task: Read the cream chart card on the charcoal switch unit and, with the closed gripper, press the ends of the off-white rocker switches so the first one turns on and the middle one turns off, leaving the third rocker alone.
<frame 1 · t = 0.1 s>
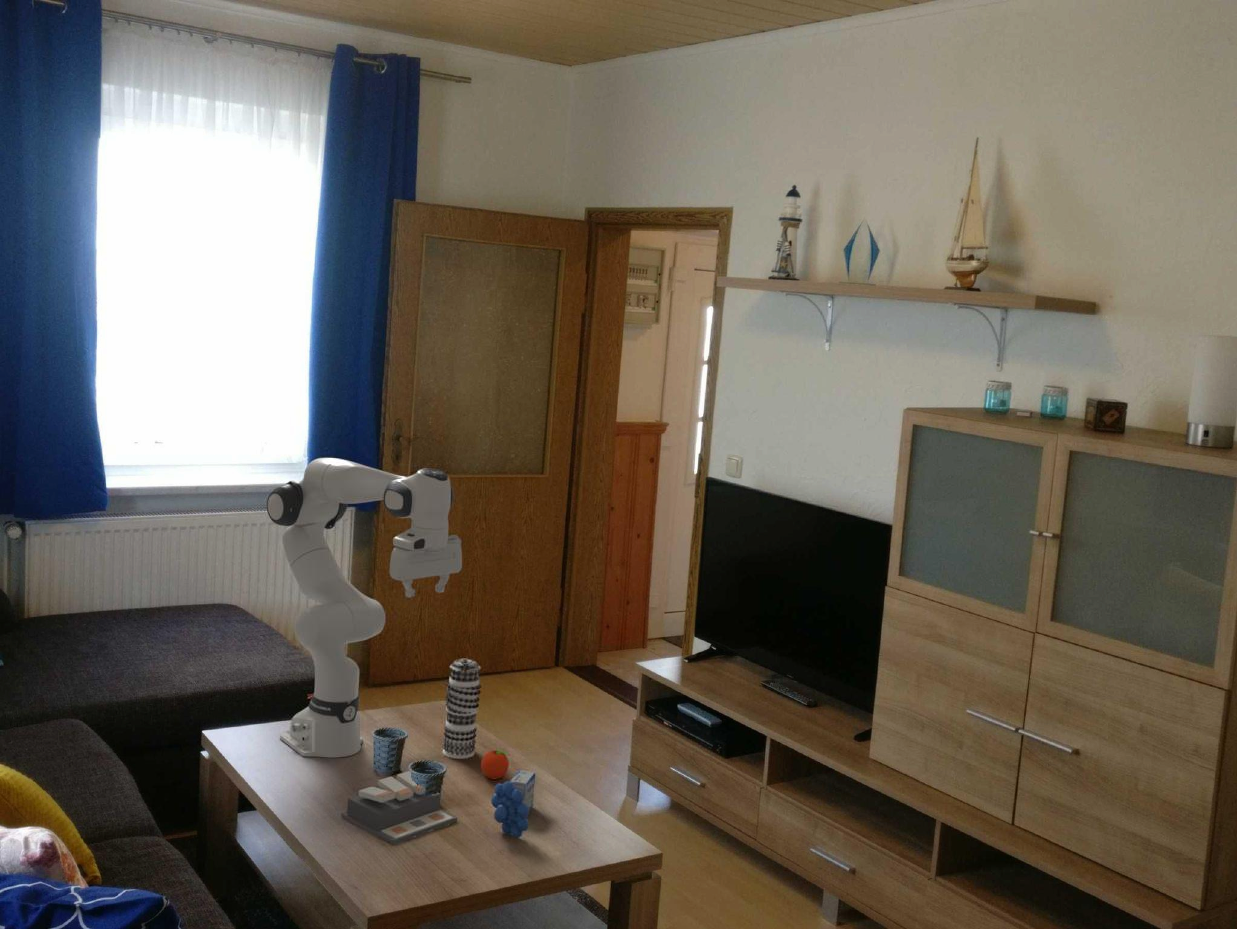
hand: (424, 594, 291), 48 cm above the table, tool pointing down, fingers open, 8 cm apart
rocker c: (414, 782, 282), point 7 cm above the table, hinge at 8.0°
rocker b: (395, 788, 277), point 7 cm above the table, hinge at 8.0°
rocker a: (376, 794, 273), point 7 cm above the table, hinge at -8.0°
tomato: (495, 778, 307), on the table
grapes: (504, 836, 274), on the table
medicine box: (519, 812, 288), on the table
switch unit: (399, 819, 277), on the table
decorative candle: (458, 753, 321), on the table
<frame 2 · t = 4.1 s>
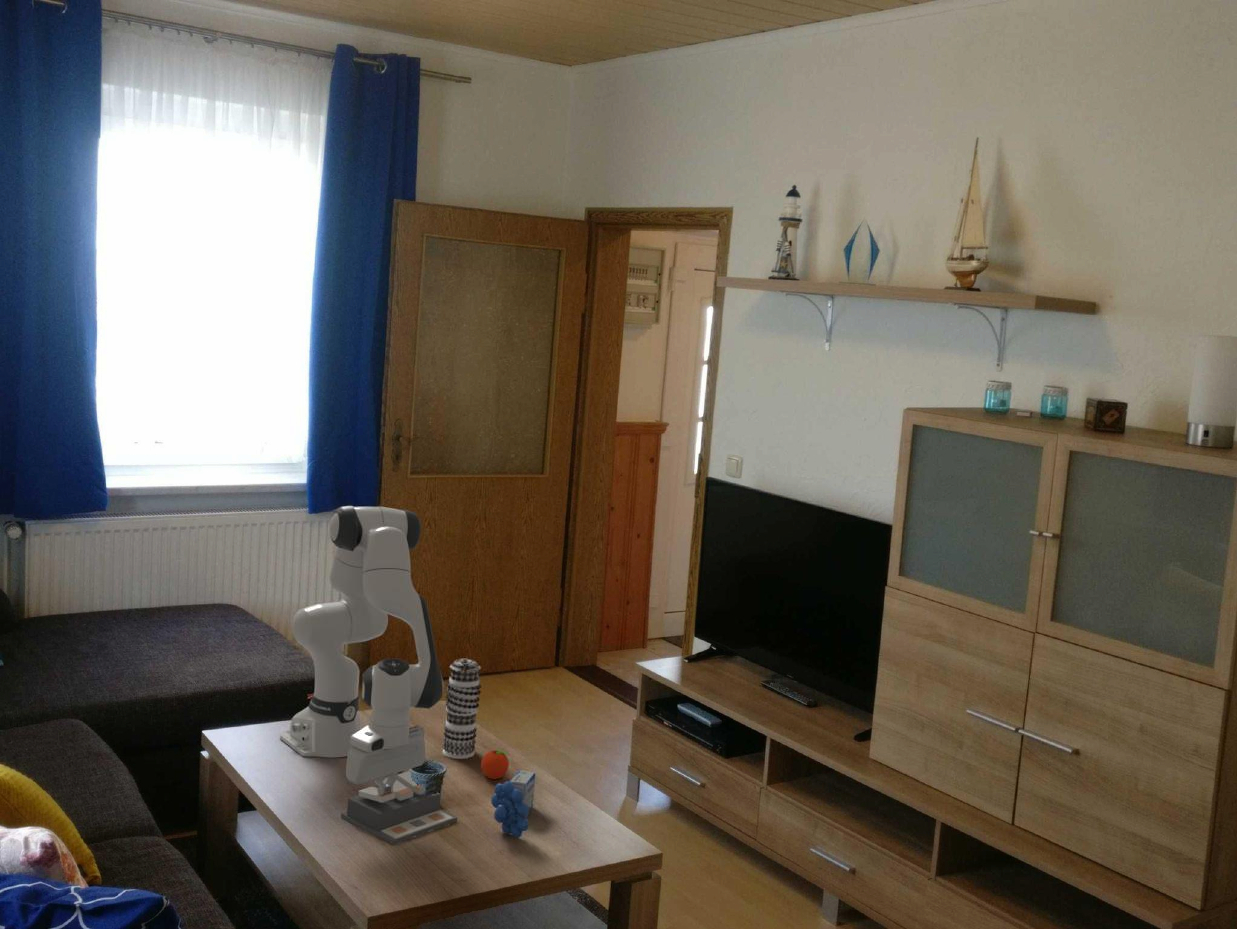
hand: (385, 792, 271), 8 cm above the table, tool pointing down, fingers closed, pressing on rocker a
rocker a: (376, 794, 273), point 7 cm above the table, hinge at -8.0°, touching gripper
everything else where it was.
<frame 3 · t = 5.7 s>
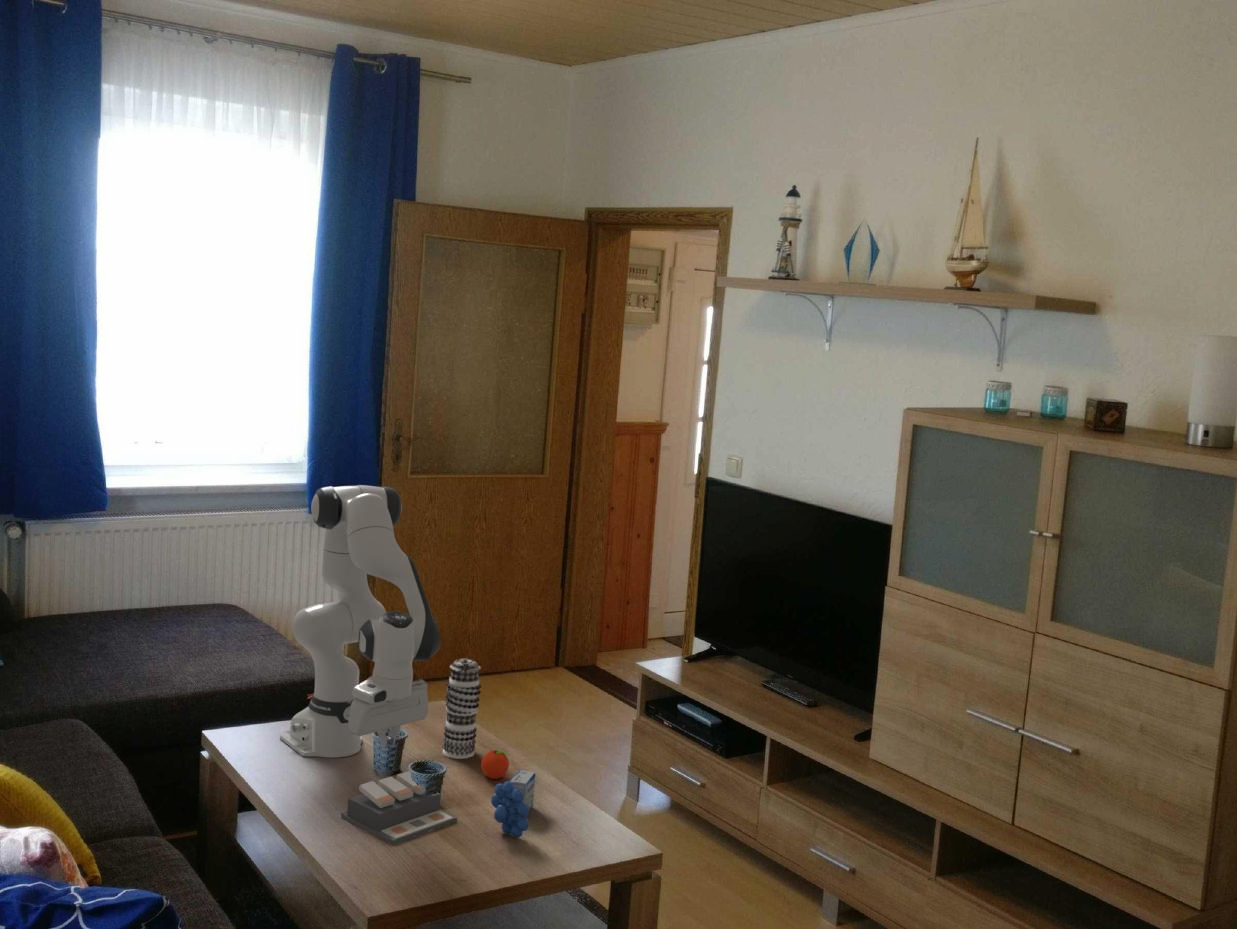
hand: (387, 745, 272), 18 cm above the table, tool pointing down, fingers closed
rocker a: (376, 794, 273), point 7 cm above the table, hinge at 12.4°
everything else where it was.
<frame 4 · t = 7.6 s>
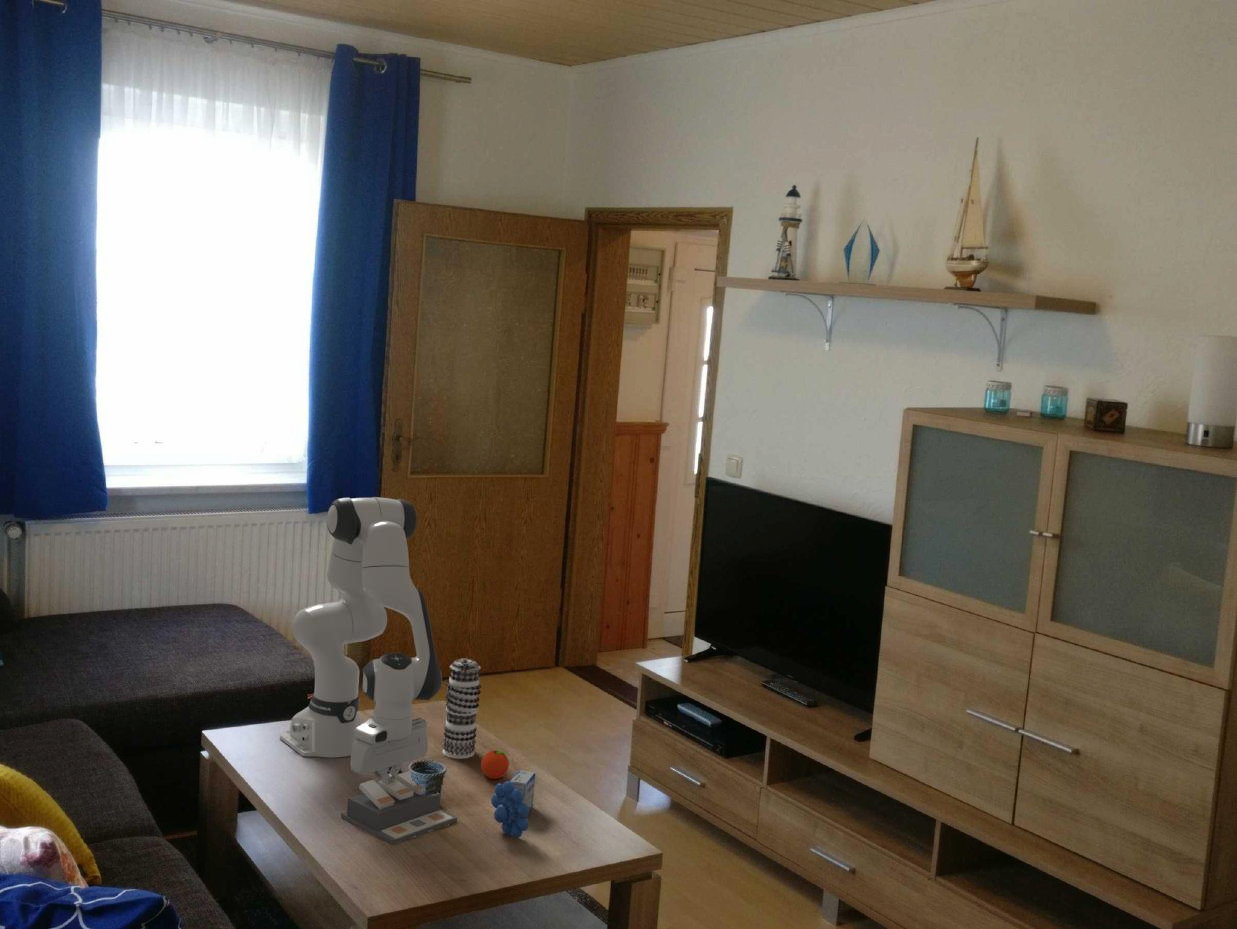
hand: (388, 783, 279), 7 cm above the table, tool pointing down, fingers closed, pressing on rocker b
rocker b: (395, 788, 277), point 7 cm above the table, hinge at 5.0°, touching gripper
rocker a: (376, 794, 273), point 7 cm above the table, hinge at 18.0°, touching switch unit
everything else where it was.
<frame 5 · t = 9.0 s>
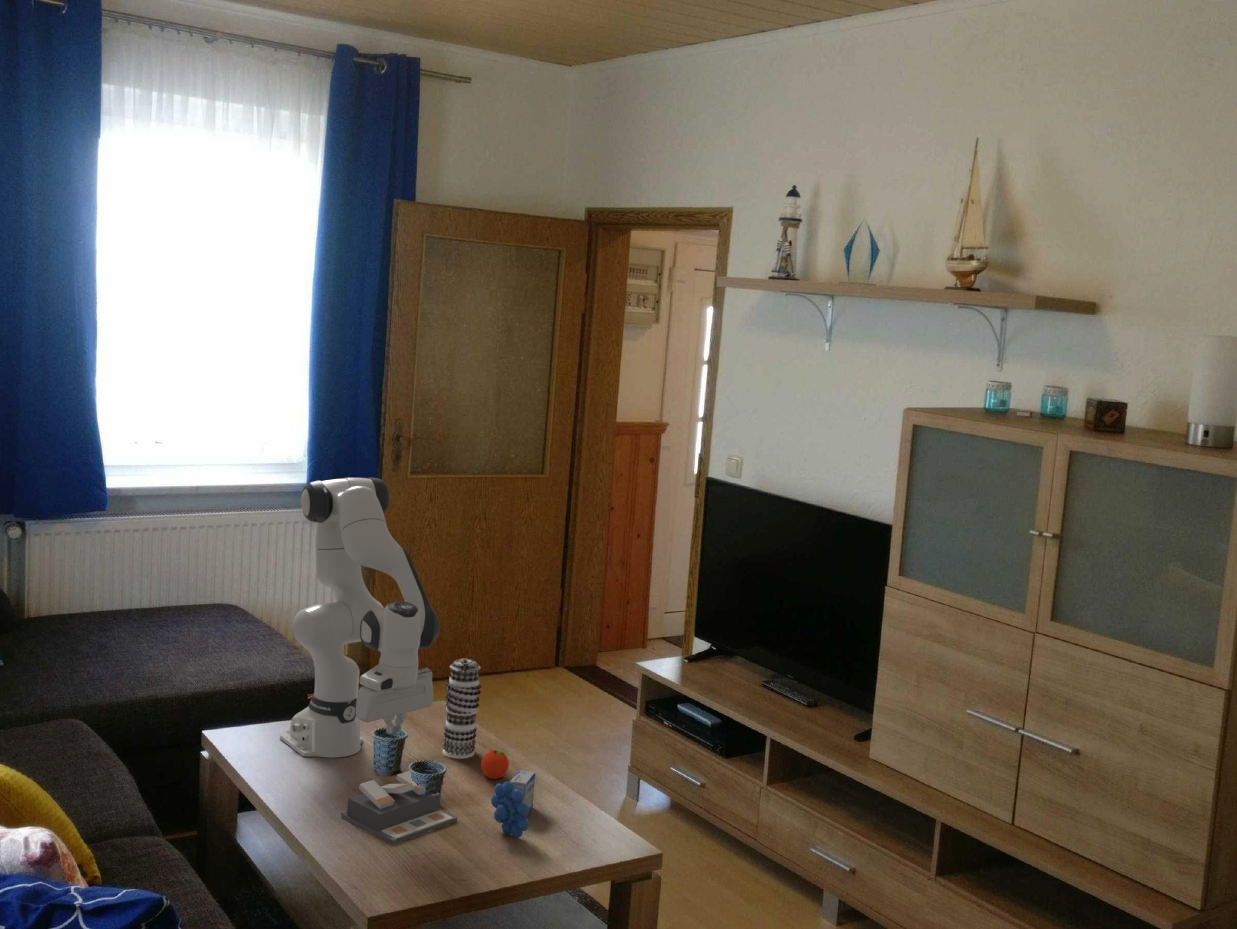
hand: (393, 732, 278), 19 cm above the table, tool pointing down, fingers closed
rocker b: (395, 788, 277), point 7 cm above the table, hinge at -17.6°
rocker a: (376, 794, 273), point 7 cm above the table, hinge at 17.0°
everything else where it was.
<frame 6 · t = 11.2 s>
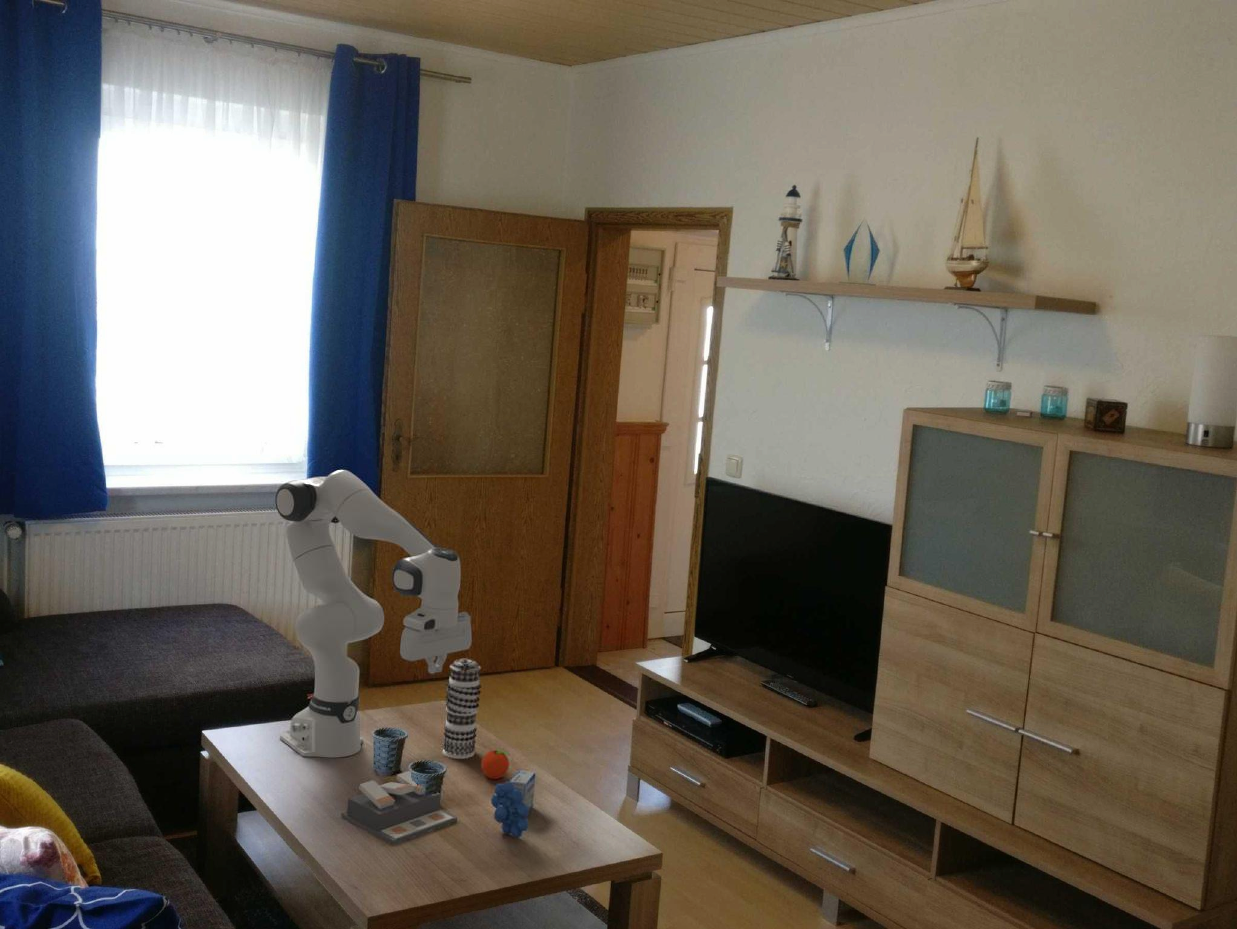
hand: (434, 672, 293), 29 cm above the table, tool pointing down, fingers closed
rocker b: (395, 788, 277), point 7 cm above the table, hinge at -12.4°
rocker a: (376, 794, 273), point 7 cm above the table, hinge at 16.5°
everything else where it was.
at the end: rocker a at +16° (first picture: -8°); rocker b at -12° (first picture: +8°); rocker c at +8° (first picture: +8°) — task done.
